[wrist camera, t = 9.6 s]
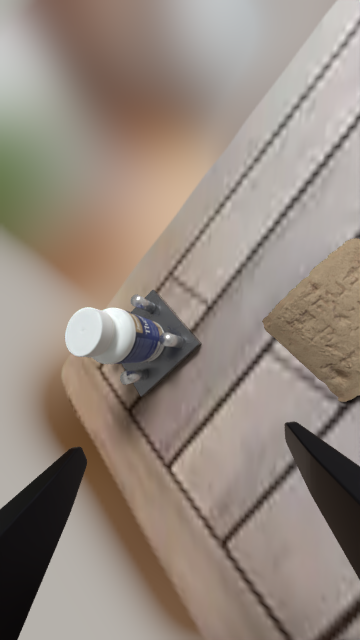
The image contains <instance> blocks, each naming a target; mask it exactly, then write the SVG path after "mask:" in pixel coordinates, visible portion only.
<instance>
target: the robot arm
mask: <svg viewBox="0 0 360 640" xmlns="http://www.w3.org/2000/svg"><path fill="white" fill-rule="evenodd" d="M285 439H286V443H287V445H288V447H289V449H290V451H291V454H292V456H293V458H294V460H295V462H296V464H297V466H298V468H299V470H300V473H301V475H302V477H303V479H304V481H305V483H306V485H307V487H308V489H309V491H310V493H311V495H312V497H313V499H314V501H315V502H316V504H317V506H318V508H319V509H320V511H321V513H322V515H323V516H324V518H325V520H326V522H327V523H328V525H329V527H330V529H331V530H332V532H333V534H334V536H335V537H336V539H337V541H338V543H339V544H340V546H341V548H342V550H343V551H344V553H345V555H346V557H347V558H348V560H349V562H350V564H351V565H352V567H353V569H354V571H355V572H356V574H357V576H358V578H359V579H360V466H358V465H357V464H355V463H354V462H353V461H351V460H350V459H348V458H347V457H346V456H344V455H343V454H341V453H340V452H338V451H337V450H336V449H334V448H333V447H331V446H330V445H328V444H327V443H326V442H324V441H323V440H321V439H320V438H318V437H317V436H316V435H314V434H313V433H311V432H310V431H309V430H307V429H306V428H304V427H303V426H301V425H300V424H299V423H297V422H286V423H285ZM86 465H87V459H86V456H85V454H84V452H83V450H82V448H81V447H73V448H71V449H69V450H68V451H67V452H66V453H65V454H63V455H62V456H61V457H60V458H59V459H58V460H57V461H55V462H54V463H53V464H52V465H51V466H50V467H48V468H47V469H46V470H45V471H44V472H43V473H42V474H40V475H39V476H38V477H37V478H36V479H35V480H33V481H32V482H31V483H30V484H29V485H28V486H27V487H26V488H24V489H23V490H22V491H21V492H20V493H19V494H18V495H16V496H15V497H14V498H13V499H12V500H10V501H9V502H8V503H7V504H6V505H5V506H4V507H2V508H1V509H0V640H17V639H18V637H19V635H20V632H21V630H22V627H23V625H24V623H25V620H26V618H27V616H28V613H29V611H30V608H31V606H32V603H33V601H34V599H35V596H36V594H37V592H38V589H39V587H40V584H41V582H42V579H43V577H44V575H45V572H46V570H47V568H48V565H49V563H50V560H51V558H52V556H53V553H54V551H55V548H56V546H57V544H58V541H59V539H60V536H61V534H62V532H63V529H64V527H65V524H66V522H67V520H68V517H69V515H70V512H71V509H72V506H73V504H74V501H75V498H76V495H77V492H78V489H79V486H80V483H81V480H82V477H83V474H84V472H85V469H86Z"/></svg>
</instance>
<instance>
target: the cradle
mask: <svg viewBox="0 0 360 640" xmlns="http://www.w3.org/2000/svg"><path fill="white" fill-rule="evenodd" d="M131 304H132V305H133V306H135V307H136V308H135V309H134V310H133V311H132V312H131V313H133V314H136V315H138V316H141V317H144V318H146V319H149V320H151V321H154V322H156V323H157V324H159V325H160V326H161V327H162V329H163V331H164V333H163V334H162V335H161V336H160V343H161V345H163V346H164V348H163V351H162V352H161V354H160V355H159V356H158V357H157V358H156V359H154V360H152V361H149V362H138V363H122V365H123V367H124V368H125V370H126V371H124V372H122V374H121V376H120V380H121V382H122V383H123V384H125V385H126V384H130V383H133V384H134V386H135V387H136V389H137V391H138V392H139V394H140V396H144V395H146V394H147V393H149V392H150V391H151V390H152V389H153V388H154V387H155V386H156V385H157V384H158V383H159V382H161V381H162V380H163V379H164V378H165V377H166V376H167V375H168V374H169V373H170V372H171V371H172V370H174V369H175V368H176V367H177V366H178V365H179V364H180V363H181V362H182V361H183V360H184V359H186V358H187V357H188V356H189V355H190V354H191V353H192V352H193V351H194V350H195V349H196V348H198V347H199V346H200V345H201V342H200V341H199V340H198V339H197V338H196V337H195V335H194V334H193V333H192V332H191V331H190V330H189V329H188V327H187V326H186V325H185V324H184V323H183V322H182V320H181V319H180V318H179V317H178V316H177V315H176V314H175V312H174V311H173V310H172V309H171V308H170V307H169V305H168V304H167V303H166V302H165V301H164V300H163V299H162V297H161V296H160V295H159V294H158V293H157V292H156V291H155V290H152V291H151V292H150V293H149V294H148V295H147V296H146V297H145V298H143V297H141V296H139V295H134V296H133V297H132V298H131Z"/></svg>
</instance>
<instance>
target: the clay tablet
mask: <svg viewBox="0 0 360 640" xmlns="http://www.w3.org/2000/svg"><path fill="white" fill-rule="evenodd" d="M262 322H263V323H264V328H265V330H266V331H267V332H268V333H269V334H270V335H272V336H273V337H274V338H275V339H276V340H277V341H278V342H279V343H280V344H282V345H283V346H284V347H285V348H286V349H287V350H288V351H289V352H290V353H291V354H292V355H293V356H295V357H296V358H297V359H298V360H299V361H300V362H301V363H302V364H303V365H304V366H305V367H307V368H308V369H309V370H310V371H311V372H312V373H313V374H314V375H315V376H316V377H317V378H318V379H319V380H321V381H323V382H324V383H325V384H326V385H327V386H328V388H329V389H330V391H331V392H332V393H334V394H335V395H336V396H338V397H339V398H338V401H342V402H347V401H348V400H352V399H353V398H355V397H356V396H360V240H359V239H358V238H357V239H355V238H354V239H350V240H348V241H346V242H345V243H344V244H343V245H342V246H341V247H339V248H338V249H337V251H334V252H332V253H331V254H330V255H329V256H328V258H327V259H325V260H324V261H322V262H321V263H320V264H318V265H317V266H316V267H315V268H314V269H313V270H312V271H311V272H310V275H309V276H308V277H306V278H305V279H303V280H302V281H301V282H300V283H299V284H298V285H297V286H296V288H294V289H292V290H291V291H290V292H289V293H288V295H287V296H286V297H285V298H284V299H283V300H281V301H280V303H279V304H278V305H276V307H275V308H274V309H273V310H272V312H270V313H269V315H268V316H267V317H265V318H264V319H263V321H262Z"/></svg>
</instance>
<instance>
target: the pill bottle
mask: <svg viewBox="0 0 360 640" xmlns="http://www.w3.org/2000/svg"><path fill="white" fill-rule="evenodd" d="M163 333H164V331H163V329H162V327H161V326H160V325H159V324H157V323H156V322H154V321H151V320H149V319H146V318H144V317H141V316H138V315H136V314H133V313H130V312H128V311H125V310H122V309H119V308H107V309H104V310H102V311H101V310H98V309H94V308H90V307H88V308H87V307H86V308H83V309H80V310H79V311H77V312H76V313H75V314H74V315H73V316H72V318H71V319H70V321H69V323H68V326H67V329H66V333H65V341H66V345H67V348H68V350H69V351H70V352H71V353H72V354H73V355H75V356H78V357H92V358H93V359H94V360H96V361H97V362H99V363H102V364H122V363H138V362H149V361H152V360H154V359H156V358H157V357H158V356H159V355H160V354H161V352H162V351H163V348H164V346H163V345H161V343H160V336H161V335H162V334H163Z"/></svg>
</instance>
